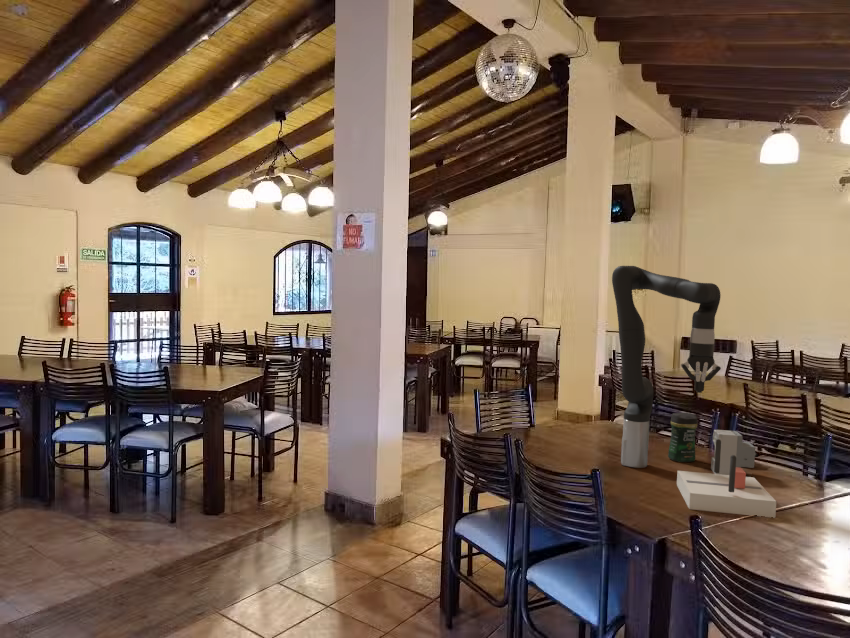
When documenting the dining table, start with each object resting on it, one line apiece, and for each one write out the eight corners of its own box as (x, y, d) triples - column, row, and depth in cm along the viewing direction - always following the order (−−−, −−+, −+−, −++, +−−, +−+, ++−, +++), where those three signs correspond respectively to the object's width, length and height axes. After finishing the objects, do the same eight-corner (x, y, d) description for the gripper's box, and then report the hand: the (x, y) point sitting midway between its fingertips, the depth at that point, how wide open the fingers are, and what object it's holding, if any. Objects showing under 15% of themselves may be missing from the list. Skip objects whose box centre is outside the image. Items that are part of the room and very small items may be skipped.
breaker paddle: (734, 487, 200) (735, 472, 199) (729, 481, 205) (730, 466, 205) (744, 488, 199) (745, 472, 199) (739, 482, 205) (740, 467, 204)
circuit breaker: (758, 478, 228) (761, 437, 227) (715, 474, 231) (718, 434, 230) (752, 472, 235) (754, 432, 234) (710, 469, 238) (713, 429, 237)
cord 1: (714, 472, 212) (716, 439, 211) (713, 471, 214) (715, 438, 213) (719, 473, 212) (721, 440, 211) (718, 471, 213) (720, 439, 213)
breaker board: (689, 509, 194) (690, 492, 194) (676, 484, 218) (677, 470, 217) (775, 517, 189) (776, 501, 189) (753, 492, 212) (753, 477, 212)
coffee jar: (676, 463, 244) (679, 415, 243) (664, 457, 252) (667, 411, 251) (699, 462, 246) (701, 415, 245) (686, 456, 254) (689, 410, 253)
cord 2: (729, 492, 193) (731, 455, 192) (727, 490, 194) (730, 454, 194) (734, 492, 192) (737, 456, 192) (733, 490, 194) (735, 454, 193)
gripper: (683, 341, 214) (680, 392, 215) (725, 343, 211) (722, 395, 212) (679, 339, 221) (676, 389, 222) (720, 341, 218) (717, 391, 219)
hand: (699, 392), depth 217 cm, fingers closed
